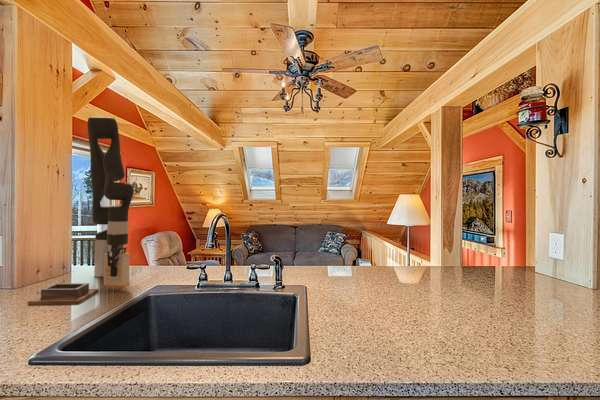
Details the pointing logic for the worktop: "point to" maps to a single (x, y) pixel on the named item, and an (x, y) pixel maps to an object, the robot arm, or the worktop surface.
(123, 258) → the supplement box
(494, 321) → the worktop surface
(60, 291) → the slot holder
